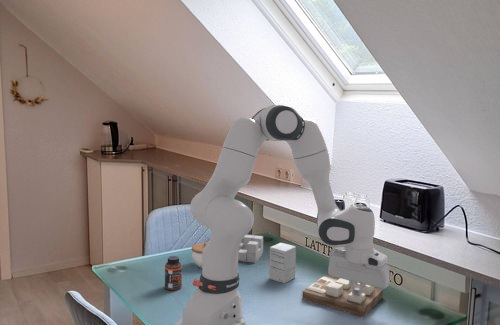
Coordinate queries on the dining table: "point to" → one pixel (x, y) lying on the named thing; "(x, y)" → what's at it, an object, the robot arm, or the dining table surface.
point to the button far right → (366, 289)
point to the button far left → (344, 283)
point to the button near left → (334, 289)
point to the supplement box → (282, 262)
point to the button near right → (356, 298)
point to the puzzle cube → (251, 248)
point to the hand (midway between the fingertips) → (356, 294)
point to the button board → (340, 297)
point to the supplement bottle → (173, 273)
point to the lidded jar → (198, 253)
